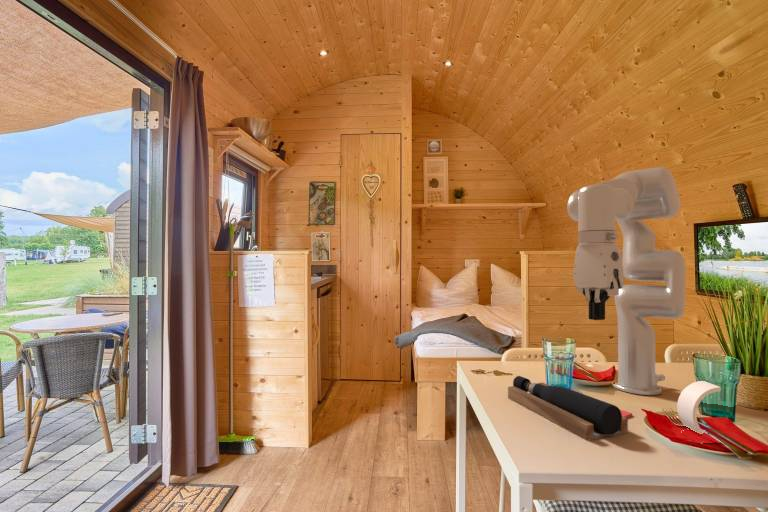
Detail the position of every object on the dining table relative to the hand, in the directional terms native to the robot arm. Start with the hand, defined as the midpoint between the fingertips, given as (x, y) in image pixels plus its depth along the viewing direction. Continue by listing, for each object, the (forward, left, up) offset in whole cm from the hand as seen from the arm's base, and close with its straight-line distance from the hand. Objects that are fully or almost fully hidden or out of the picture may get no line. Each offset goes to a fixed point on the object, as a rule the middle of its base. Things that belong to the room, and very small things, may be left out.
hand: (596, 319), depth 90 cm
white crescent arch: (-18, +10, -26) cm, 33 cm away
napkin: (-11, -7, -26) cm, 29 cm away
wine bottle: (0, +4, -22) cm, 22 cm away
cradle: (0, -11, -26) cm, 28 cm away
